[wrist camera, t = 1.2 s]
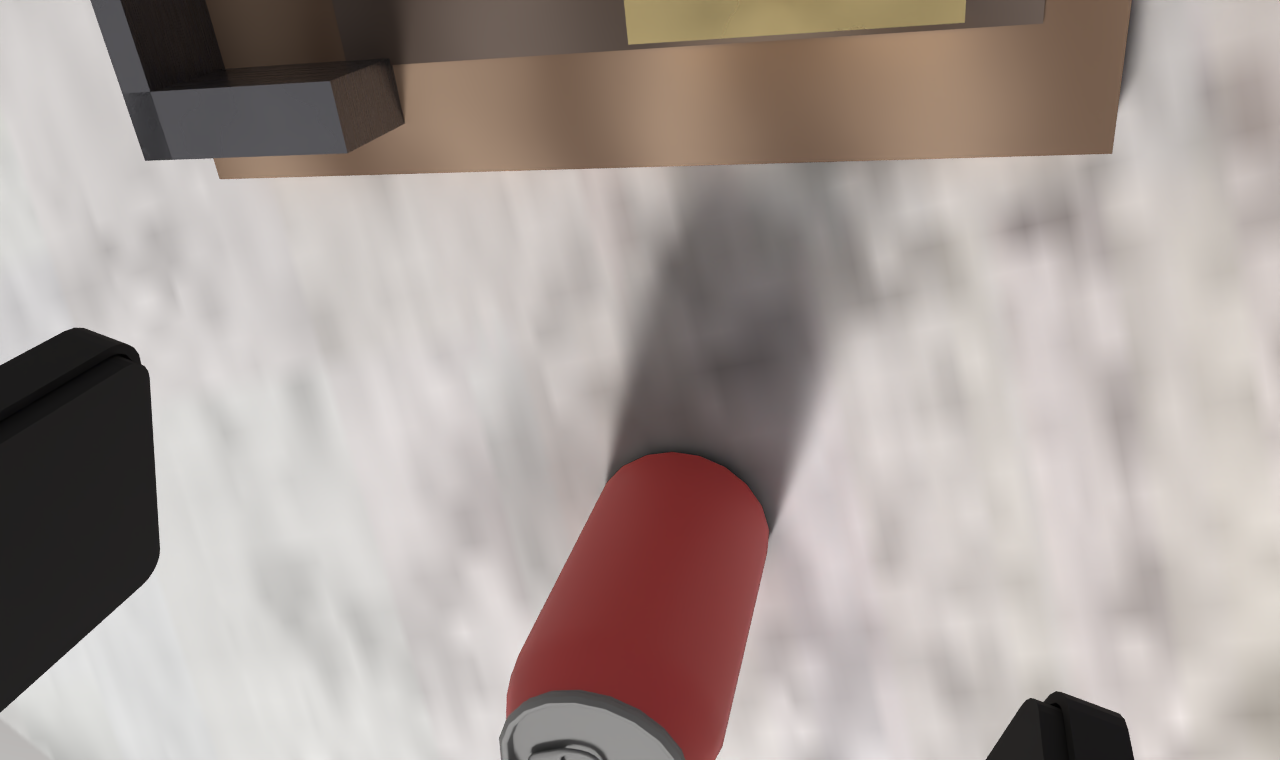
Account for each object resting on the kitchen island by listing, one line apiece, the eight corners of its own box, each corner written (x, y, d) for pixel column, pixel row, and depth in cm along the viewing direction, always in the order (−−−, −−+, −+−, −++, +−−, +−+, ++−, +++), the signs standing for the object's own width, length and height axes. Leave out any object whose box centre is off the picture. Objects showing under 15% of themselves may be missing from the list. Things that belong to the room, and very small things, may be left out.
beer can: (590, 442, 36) (457, 674, 26) (764, 444, 34) (693, 696, 24) (617, 580, 39) (506, 837, 29) (778, 589, 37) (721, 869, 27)
